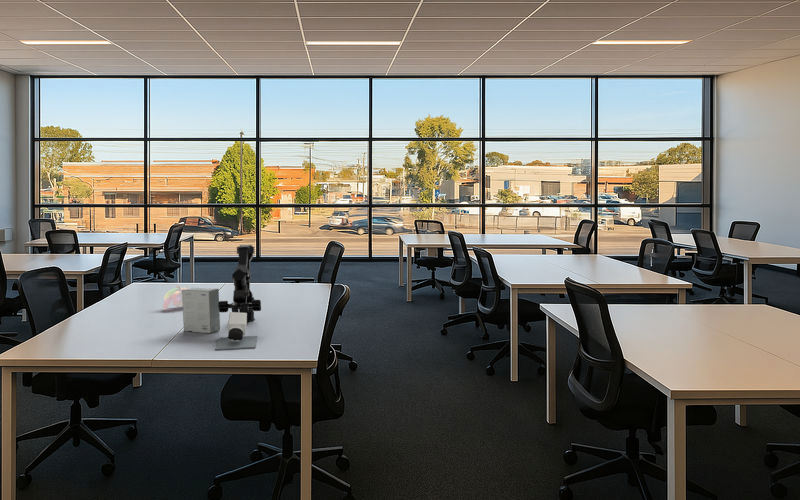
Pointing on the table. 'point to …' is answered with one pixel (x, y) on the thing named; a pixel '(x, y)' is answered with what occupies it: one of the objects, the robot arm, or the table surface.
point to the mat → (237, 343)
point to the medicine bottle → (236, 326)
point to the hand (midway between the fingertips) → (239, 321)
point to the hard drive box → (201, 310)
